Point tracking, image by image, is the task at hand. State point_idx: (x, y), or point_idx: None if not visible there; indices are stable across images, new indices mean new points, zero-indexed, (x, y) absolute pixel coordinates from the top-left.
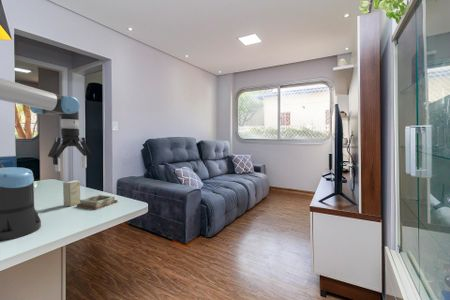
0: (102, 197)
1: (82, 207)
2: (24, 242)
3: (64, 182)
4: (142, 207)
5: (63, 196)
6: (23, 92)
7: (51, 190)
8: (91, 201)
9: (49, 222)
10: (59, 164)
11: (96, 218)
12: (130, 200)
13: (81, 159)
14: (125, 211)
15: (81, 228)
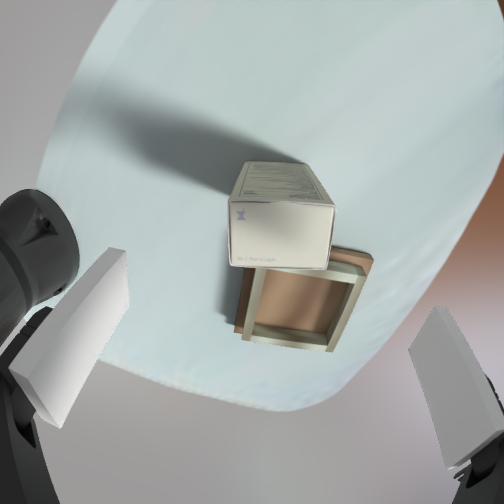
0: (345, 298)
1: None
2: (40, 307)
3: (230, 212)
4: (287, 409)
5: (240, 172)
6: None
7: None
8: (249, 317)
9: None
10: (89, 358)
11: (173, 361)
12: (359, 361)
13: (474, 382)
14: (245, 393)
15: (119, 361)
